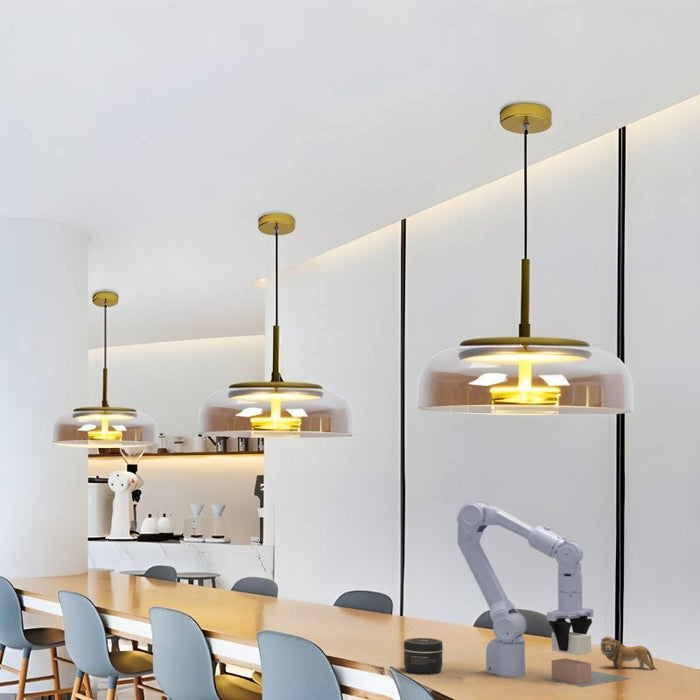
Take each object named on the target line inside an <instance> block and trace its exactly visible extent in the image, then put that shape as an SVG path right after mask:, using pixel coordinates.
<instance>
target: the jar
mask: <svg viewBox="0 0 700 700" xmlns="http://www.w3.org/2000/svg"><path fill="white" fill-rule="evenodd" d="M443 651H444V649H443V641H442V640H440V639H437V638H429V637H413V638H407V639H405V640H404V641H403V663H404V664H403V666H404V669H405V671H406V672H407V673H410V674H413V675H423V674H428V675H432V674H431V673H437V674H439V673H441V671H442V668H443ZM438 672H439V673H438Z"/></svg>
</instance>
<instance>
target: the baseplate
mask: <svg viewBox="0 0 700 700" xmlns="http://www.w3.org/2000/svg"><path fill="white" fill-rule="evenodd" d="M542 679H544V680H548V681H552V682H557V683H562V684H567V685H570V686H571V685H572V686H575V687H578V688H579V687H580V688H584V687H590V686H595V685H603V684H607V683H613V682H619V681H626V680H632V678H630V677H626V676H622V675H616V674H611V673H606V672H599V671H595V670H591V682H585V683H578V684H577V683H572V682H568V681H563V680H558V679H554V678H552V676H550V677H543V678H542Z"/></svg>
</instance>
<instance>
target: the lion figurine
mask: <svg viewBox="0 0 700 700" xmlns="http://www.w3.org/2000/svg"><path fill="white" fill-rule="evenodd" d="M600 640H601V641H600V650H601V653H602V655H604V656H605V657H606V658H607V660H609V661H610V662H612V663H613V668H617V669H618V670H622V669H623V662H632V661H635V660H636V659H637V661H638V664H639V669H643V668H644V667H645V665H646V667H648V668H649V670H650V671H654V670H658V669H657V668H656V667H655V666H654V662H653V661H654V660H653V657H652V653H651V652H650V650H649V649H648V648H647V647H645V646H643V645H634V646H625V645H624V644H623V643H622V642H621V641H618V640H617V639H615V638H614V637H612V636H609V635H608V636H604V637H603V638H601V639H600Z"/></svg>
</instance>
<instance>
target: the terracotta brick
mask: <svg viewBox="0 0 700 700" xmlns="http://www.w3.org/2000/svg"><path fill="white" fill-rule="evenodd" d="M591 671H592V663H591V662H588V661H582V660H577V659H572V658H566V657H565V658H559V659H558V658H556V659H551V677H552V678H554V679H558V680H563V681H568V682H572V683H577V684H578V683H585V682H591Z"/></svg>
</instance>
